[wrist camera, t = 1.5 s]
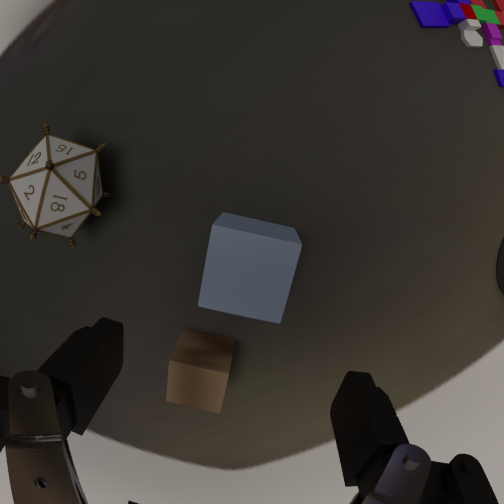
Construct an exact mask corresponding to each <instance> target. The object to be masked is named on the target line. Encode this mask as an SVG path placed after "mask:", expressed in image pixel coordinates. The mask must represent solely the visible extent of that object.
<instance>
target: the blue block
mask: <svg viewBox="0 0 504 504" xmlns="http://www.w3.org/2000/svg"><path fill="white" fill-rule="evenodd" d="M301 247H302V243H301V241H300V239H299V237H298V234H297V232H296V230H295V228H292V227H288V226H283V225H279V224H274V223H270V222H266V221H261V220H257V219H252V218H247V217H243V216H238V215H234V214H229V213H224V212H223V213H222V214H221V215H220V216H219V217H218V219H217V220H216V221H215V222H214V223H213V225H212V229H211V234H210V240H209V245H208V251H207V256H206V262H205V268H204V273H203V279H202V285H201V291H200V297H199V303H198V306H200V307H204V308H208V309H213V310H217V311H221V312H226V313H230V314H235V315H240V316H244V317H249V318H254V319H259V320H264V321H269V322H274V323H279V324H280V322H281V319H282V315H283V312H284V309H285V305H286V302H287V298H288V295H289V291H290V288H291V284H292V280H293V277H294V273H295V270H296V266H297V262H298V259H299V255H300V251H301Z"/></svg>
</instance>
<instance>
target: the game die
mask: <svg viewBox="0 0 504 504" xmlns="http://www.w3.org/2000/svg"><path fill="white" fill-rule="evenodd" d="M49 127H50V126H48V125H47V124H46V123H45V124H44V127H43V132H44V134H45V136H44V137H43V138H42V139H41V140H40V141H39V142H38V143H37V145H36V146H35V147H34V148H33V149H32V150H31V152H30V153H29V154H28V155H27V156H26V158H25V159H24V160H23V161H22V162H21V164H20V165H19V166H18V167H17V169H16V170H15V171H14V173H13V174H12V175H11V176H10V178H7V177H4V176H2V177H1V178H0V182H1V184H2V183H4V184H5V183H9V186H10V189H11V192H12V194H13V197H14V199H15V202H16V204H17V207H18V209H19V212H20V214H21V217H22V219H23V221H21V222H20V223H19V229H20V228H23V227H24V226H25V224H27V225H28V226H30V227H31V228H32V229H33V230H32V231H31V232H30V235H29V236H30V241H31V240H32V239H34V238H36V235H37V232H42V233H46V234H50V235H55V236H59V237H64V238H68V239H69V243H70V246H72V247H73V248H74V247H75V244H76V243H75V240H74V239H73V236H74V235H75V234H76V232H77V231H78V230H79V228H80V227H81V226H82V224H83V223H84V222H85V220H86V219H87V218H88V217H89V215H90V214H91V213H92V214H93V215H95V217H96V216H100V215H101V212H100V210H99V209H97V208H95V207H96V205H97V204H98V202H99V201H100V199H101V198H102V197H104V198H108V199H109V197H111V196H112V195H111V194H110V193H109V192H103V188H102V181H101V173H100V165H99V157H98V153H99V152H102V150H105V146H106V143H103V144H100V145H99V146H97V149H93V148H90V147H87V146H84V145H81V144H78V143H75V142H72V141H69V140H66V139H63V138H60V137H57V136H54V135H51V134H49V130H50V129H49Z"/></svg>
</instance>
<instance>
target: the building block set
mask: <svg viewBox="0 0 504 504" xmlns="http://www.w3.org/2000/svg"><path fill="white" fill-rule="evenodd" d="M446 1H447V2H445V3H444V4H443V5H441V6H440V4H439V2H421V1H411V2H410V3H409V5H410V7H411V9H412V11H413V13H414V15H415V17H416V19H417V21H418V23H419V25H420V27H421V28H448V27H450V24H458V26H459V29H460V31H462V32H461V39H462V41H463V42H464V43H465V44H466V46H467V47H475V48H479V47H482V37H481V36H480V35H479V34H478V33H477V32H476V31H475V30H477V29H479V28H481V30H482V32H483V34H484V36H485V39H486V41H487V43H488V46H489V48H490V50H491V53H492V55H493V58H494V61H495V63H496V66H497V69H496V70H493V71H494V74H495V77H496V80H497V83H498V86H499V87H501V86H504V46H502V44H501V42H500V39H503V38H502V36H501V34H500V32H499V29H498V28H504V0H492V1H493V3H494V5H495V7H496V9H497V11H494V10H488V9H486V7H485V5H484V3H483V1H482V0H446Z"/></svg>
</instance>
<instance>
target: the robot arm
mask: <svg viewBox="0 0 504 504" xmlns="http://www.w3.org/2000/svg"><path fill="white" fill-rule="evenodd" d="M497 277H498V284H499V286H500V289H501V291H502V292H503V294H504V241H503V244H502V246H501V250H500V254H499V258H498V266H497ZM122 364H123V324H122V323H120V322H117V321H114V320H111V319H107V318H104V317H102V318H100V319H99V320H98V322H97V323H96V324H95V325H94V326H93V327H92V328H91V327H88V326H85V327H83V328H81V329H79V330H77V331H75V332H74V333H73V334H72V335H71V336H70V337H69V338H68V339H67V341H65V342H64V343H63V344H62V345H61V347H60V348H58V349H57V350H56V351H55V352H54V353H53V354H52V355H51V356H50V357H49V358H48V359H47V361H46V362H45V363H44V364H43V365H42V366H41V367H40V368H39V369H38V370H37V371H36V370H24V371H21V372H18V373H16V374H15V375H14V376H13V377H12V378H8V377H4V376H0V452H1V451H2V449H3V447H4V446H5V449H6V458H7V465H8V473H9V479H10V484H11V490H12V496H13V501H14V504H88V502H87V500H86V497H85V495H84V492H83V490H82V488H81V485H80V482H79V479H78V476H77V472H76V469H75V467H74V463H73V460H72V456H71V452H70V449H69V445H68V441H67V437H68V435H69V434H70V432H71V431H73V432H75V433H77V434H79V435H83V433H84V431H85V430H86V428H87V426H88V425H89V423H90V421H91V420H92V418H93V416H94V414H95V413H96V411H97V409H98V408H99V406H100V404H101V403H102V401H103V399H104V398H105V396H106V394H107V393H108V391H109V390H110V388H111V386H112V385H113V383H114V381H115V380H116V378H117V377H118V375H119V373H120V371H121V368H122ZM396 415H397V414H396V412H395V410H394V408H393V405H392V403H391V401H390V399H389V397H388V395H387V394H386V393H385V392H384V391H383V390H382V389H381V388H380V387H376V386H375V383H374V381H373V379H372V377H371V375H370V373H365V372H356V371H349V372H348V373H347V374H346V375H345V377H344V380H343V382H342V384H341V386H340V388H339V390H338V392H337V394H336V396H335V398H334V400H333V402H332V405H331V410H330V417H331V422H332V426H333V430H334V435H335V439H336V444H337V449H338V453H339V458H340V463H341V467H342V472H343V477H344V482H345V486H346V487H348V486H358V489H359V492H358V493H357V494H356V495H355V496H354V498H353V499H352V501H351V502H350V504H499V503H498V501H497V499H496V496H495V494H494V492H493V490H492V487H491V485H490V483H489V481H488V479H487V477H486V474H485V473H484V470H483V468H482V466H481V464H480V463H479V461H478V460H477V459H475V458H474V457H473V456H471V455H468V454H458V455H456V456H455V457H454V458H453V459H452V460H451V461H450V463H449V464H448V463H441V462H435V461H431V459H430V457H429V455H428V454H427V453H426V452H425V451H424V450H423V449H422V448H420V447H418V446H416V445H413V444H410V443H409V441H408V439H407V436H406V434H405V432H404V430H403V427H402V425H401V423H400V421H399V418H398V417H397V416H396ZM128 504H138V503H135V502H131V501H129V502H128Z"/></svg>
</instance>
